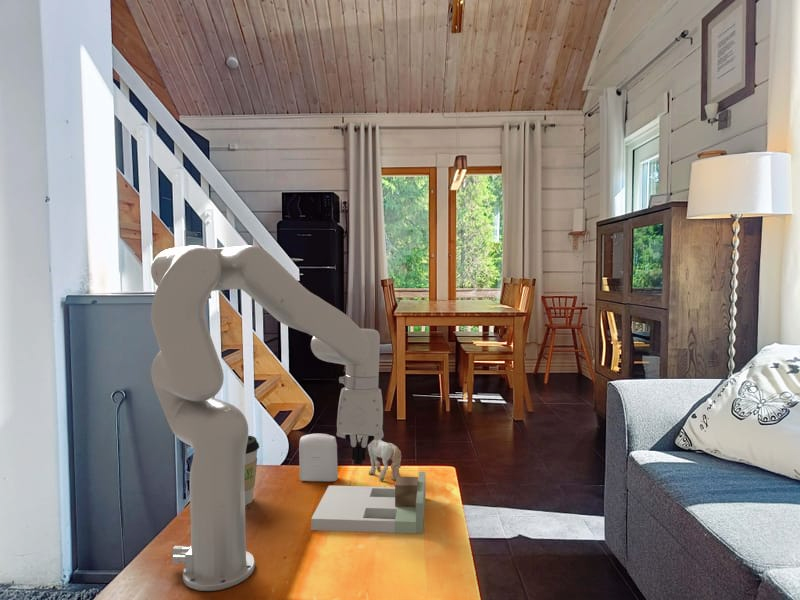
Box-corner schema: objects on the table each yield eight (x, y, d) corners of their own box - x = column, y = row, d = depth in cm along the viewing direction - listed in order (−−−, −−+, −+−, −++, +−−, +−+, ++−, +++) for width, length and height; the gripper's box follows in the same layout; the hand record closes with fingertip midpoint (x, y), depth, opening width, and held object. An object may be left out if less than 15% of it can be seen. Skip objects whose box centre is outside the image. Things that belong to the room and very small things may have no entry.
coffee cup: (209, 507, 125) (207, 444, 124) (234, 491, 134) (233, 432, 133) (244, 513, 121) (243, 449, 121) (268, 496, 131) (267, 436, 130)
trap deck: (311, 530, 113) (311, 500, 113) (329, 495, 131) (328, 469, 131) (423, 533, 111) (422, 503, 111) (425, 497, 129) (425, 471, 129)
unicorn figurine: (358, 464, 153) (358, 418, 152) (414, 478, 141) (414, 429, 141) (342, 471, 147) (341, 424, 146) (398, 487, 136) (398, 436, 135)
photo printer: (297, 482, 140) (296, 436, 139) (302, 476, 144) (301, 431, 143) (335, 483, 139) (335, 437, 138) (339, 477, 143) (338, 432, 142)
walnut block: (395, 506, 119) (395, 484, 118) (396, 497, 124) (396, 476, 123) (417, 507, 118) (417, 485, 118) (418, 498, 123) (418, 477, 123)
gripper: (325, 384, 117) (323, 466, 117) (392, 387, 115) (390, 470, 116) (332, 378, 124) (330, 456, 124) (395, 382, 123) (393, 460, 123)
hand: (359, 463), depth 120 cm, fingers closed
